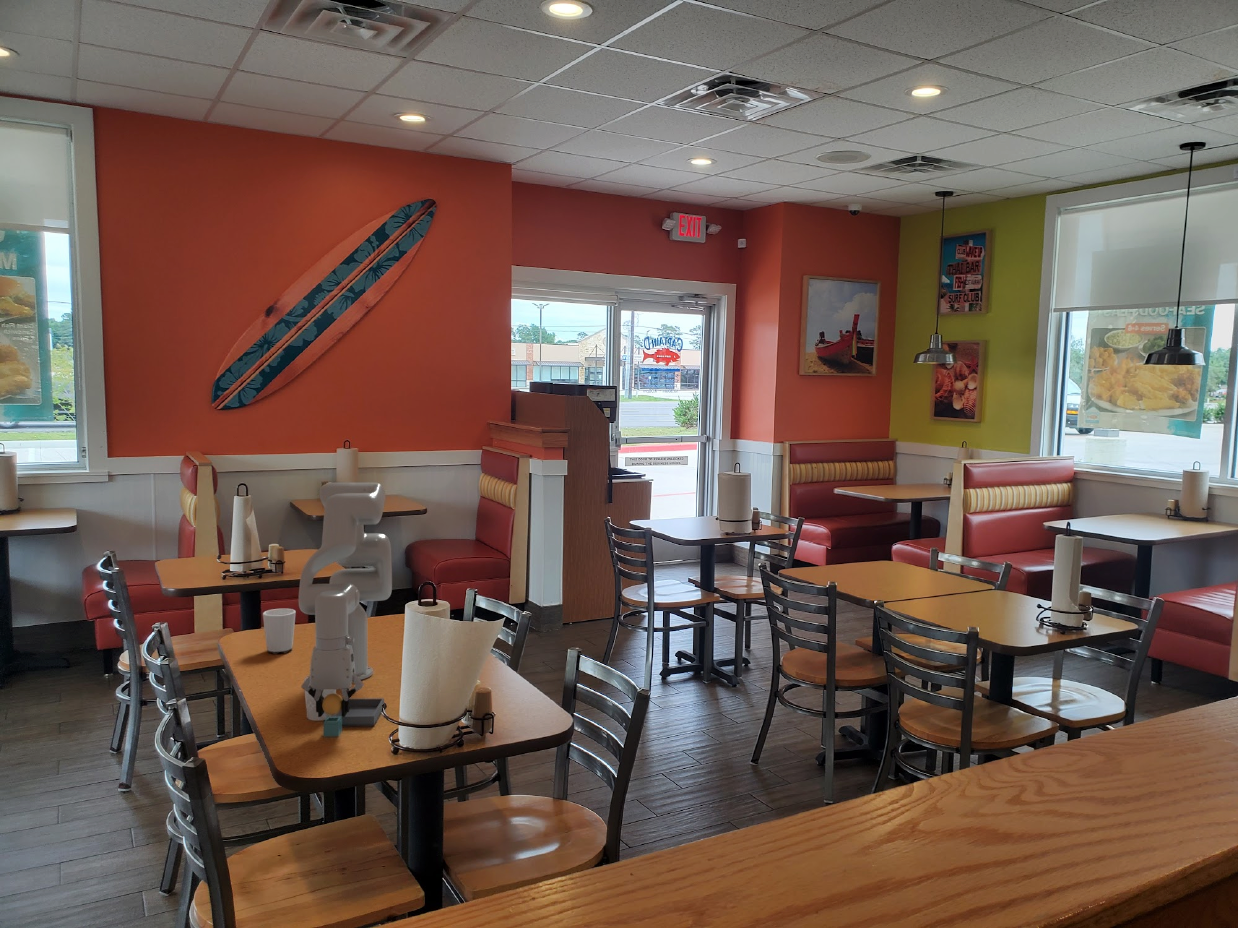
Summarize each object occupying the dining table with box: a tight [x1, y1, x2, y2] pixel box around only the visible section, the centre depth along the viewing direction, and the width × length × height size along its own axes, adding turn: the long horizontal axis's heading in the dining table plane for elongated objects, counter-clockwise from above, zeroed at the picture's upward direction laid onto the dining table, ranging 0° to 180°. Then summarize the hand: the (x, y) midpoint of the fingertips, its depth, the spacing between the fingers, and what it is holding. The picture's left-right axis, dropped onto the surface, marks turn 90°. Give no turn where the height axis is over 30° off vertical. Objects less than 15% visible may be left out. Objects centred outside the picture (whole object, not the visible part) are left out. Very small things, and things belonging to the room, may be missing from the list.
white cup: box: [303, 675, 337, 722], centre depth 226 cm, size 8×8×10 cm
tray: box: [333, 697, 385, 728], centre depth 226 cm, size 13×10×3 cm
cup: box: [262, 608, 297, 655], centre depth 281 cm, size 10×10×13 cm
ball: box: [322, 693, 343, 715], centre depth 215 cm, size 5×5×5 cm
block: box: [322, 717, 343, 738], centre depth 215 cm, size 4×4×4 cm
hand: (332, 713), depth 215 cm, fingers closed on ball, 4 cm apart
